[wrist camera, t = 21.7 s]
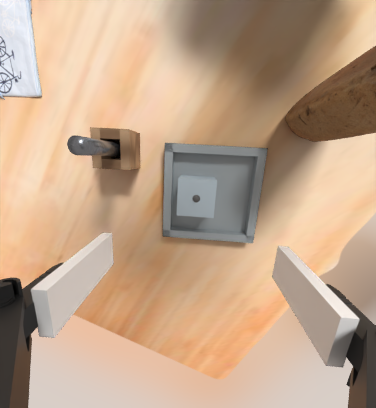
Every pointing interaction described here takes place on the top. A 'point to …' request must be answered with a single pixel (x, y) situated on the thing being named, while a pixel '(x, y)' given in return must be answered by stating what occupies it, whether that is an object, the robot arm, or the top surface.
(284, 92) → the top surface
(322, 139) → the block
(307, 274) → the robot arm
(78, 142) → the rod
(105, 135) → the bored block
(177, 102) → the top surface
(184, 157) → the tray
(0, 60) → the folded bicycle print cloth
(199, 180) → the block
